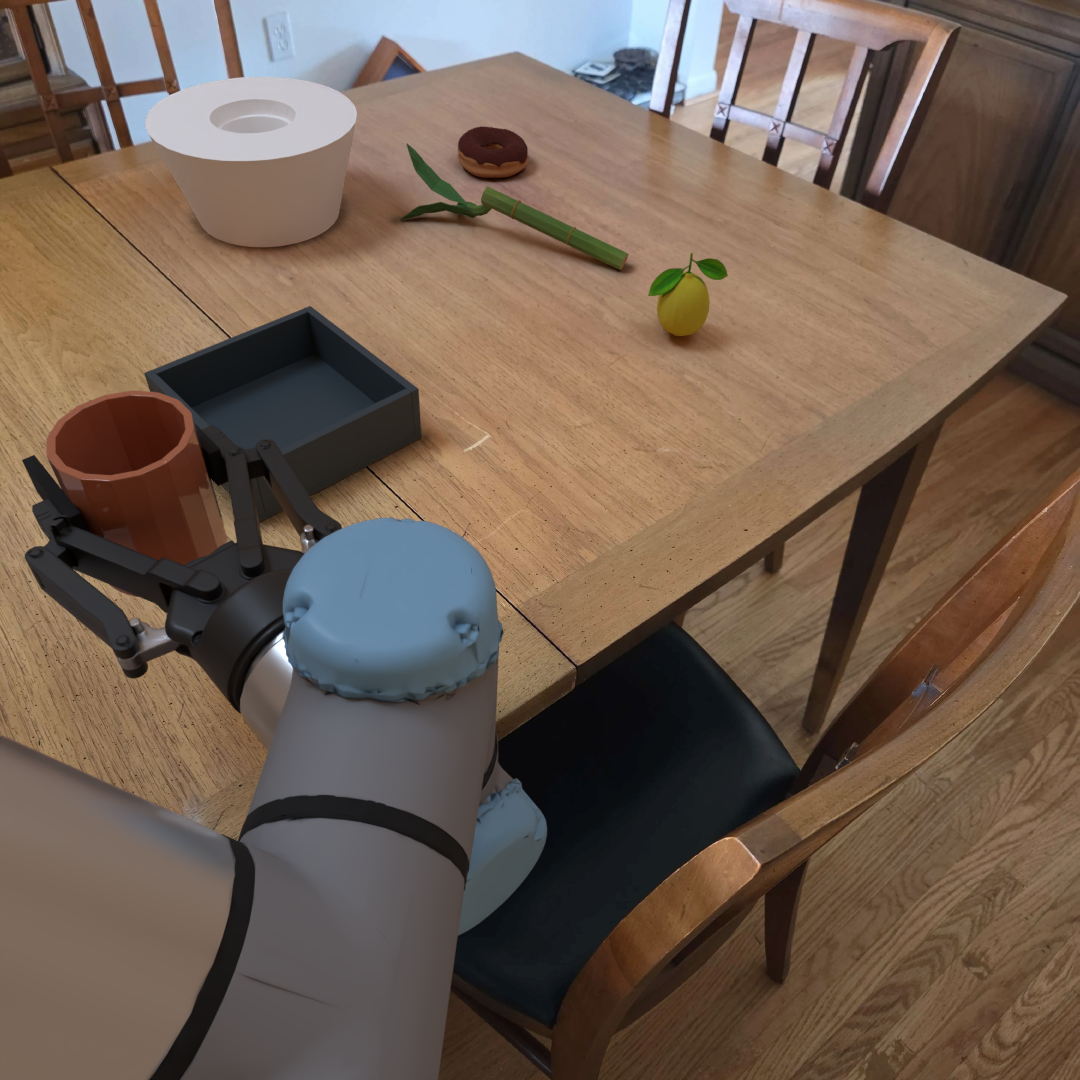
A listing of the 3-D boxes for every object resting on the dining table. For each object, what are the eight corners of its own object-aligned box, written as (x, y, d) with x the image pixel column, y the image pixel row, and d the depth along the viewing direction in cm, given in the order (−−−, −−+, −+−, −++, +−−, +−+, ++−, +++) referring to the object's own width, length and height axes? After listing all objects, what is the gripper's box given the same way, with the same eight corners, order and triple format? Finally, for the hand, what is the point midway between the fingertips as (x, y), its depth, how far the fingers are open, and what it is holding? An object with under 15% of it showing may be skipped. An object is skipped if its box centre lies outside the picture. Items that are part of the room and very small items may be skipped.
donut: (522, 186, 125) (522, 156, 122) (450, 178, 126) (449, 148, 123) (533, 154, 132) (534, 125, 129) (465, 146, 133) (465, 118, 130)
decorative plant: (615, 267, 107) (390, 159, 110) (600, 318, 114) (389, 215, 117) (636, 237, 110) (416, 133, 113) (620, 288, 117) (414, 189, 120)
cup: (134, 618, 57) (82, 501, 50) (78, 545, 61) (23, 427, 54) (250, 556, 61) (218, 439, 53) (191, 492, 65) (153, 374, 57)
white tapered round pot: (300, 154, 129) (287, 62, 120) (404, 221, 117) (398, 124, 108) (135, 204, 117) (107, 106, 108) (233, 284, 105) (210, 181, 96)
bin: (258, 523, 79) (245, 473, 75) (160, 422, 88) (143, 372, 84) (421, 437, 88) (418, 388, 84) (317, 354, 97) (310, 305, 92)
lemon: (716, 330, 103) (733, 247, 96) (698, 357, 99) (715, 273, 92) (660, 313, 105) (672, 231, 97) (640, 339, 101) (652, 255, 94)
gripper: (127, 826, 45) (-43, 562, 56) (461, 611, 55) (261, 423, 67) (77, 745, 40) (-99, 470, 51) (458, 523, 50) (241, 335, 61)
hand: (105, 444), depth 59 cm, fingers closed on cup, 8 cm apart
